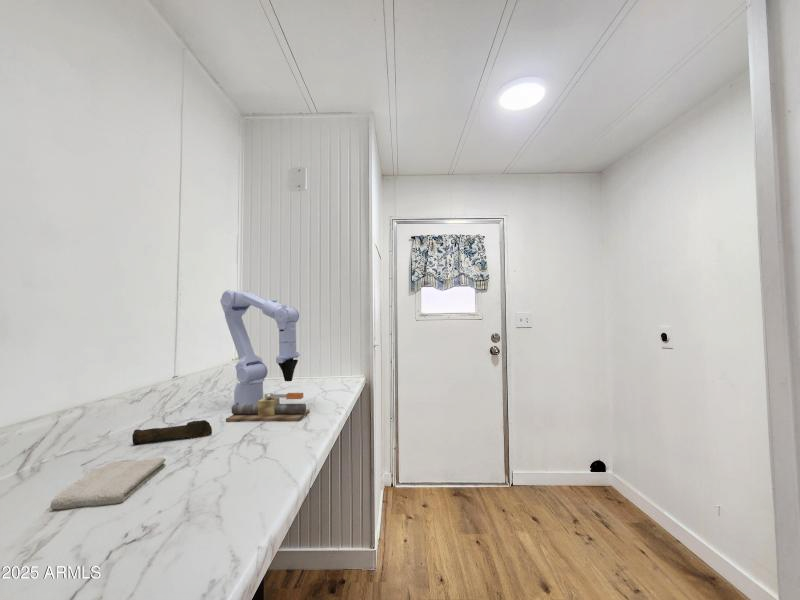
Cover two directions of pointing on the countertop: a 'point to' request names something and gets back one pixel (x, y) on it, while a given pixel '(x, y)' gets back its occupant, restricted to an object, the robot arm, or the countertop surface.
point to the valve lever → (285, 395)
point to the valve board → (267, 418)
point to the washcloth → (108, 484)
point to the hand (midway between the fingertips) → (288, 381)
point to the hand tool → (173, 432)
